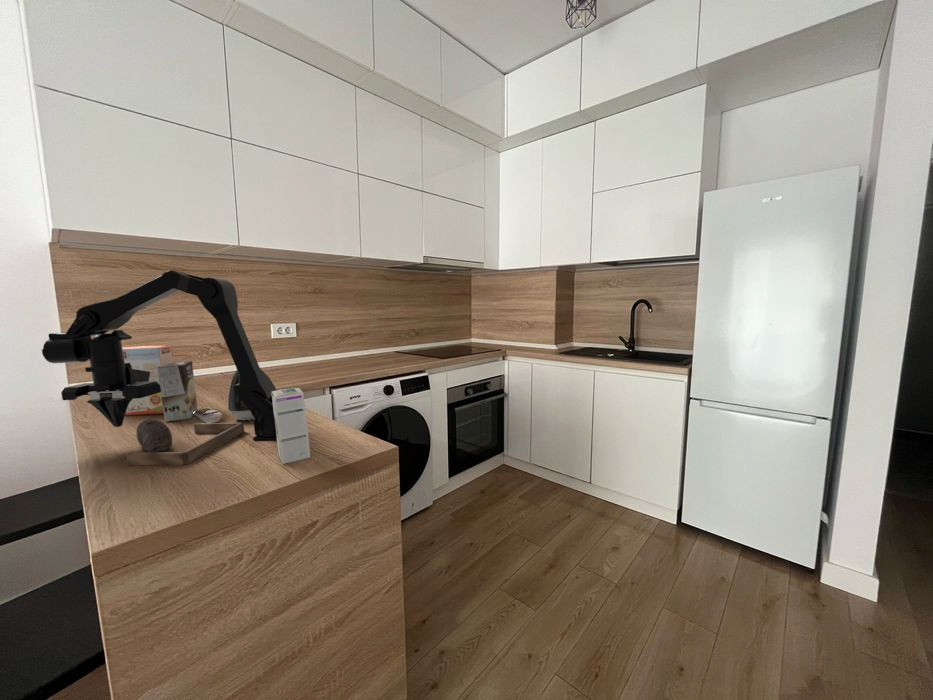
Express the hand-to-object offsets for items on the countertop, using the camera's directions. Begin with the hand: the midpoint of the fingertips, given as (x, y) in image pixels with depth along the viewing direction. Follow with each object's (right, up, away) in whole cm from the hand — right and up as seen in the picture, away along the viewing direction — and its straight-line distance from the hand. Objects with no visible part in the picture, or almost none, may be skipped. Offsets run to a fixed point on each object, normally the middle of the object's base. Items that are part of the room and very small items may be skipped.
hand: (118, 426), depth 88 cm
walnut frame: (+17, -5, 0) cm, 18 cm away
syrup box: (+45, -5, -8) cm, 46 cm away
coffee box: (-4, -2, +25) cm, 26 cm away
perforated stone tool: (+8, -5, 0) cm, 10 cm away
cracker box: (-18, -2, +31) cm, 36 cm away
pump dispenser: (+19, -2, +21) cm, 29 cm away
